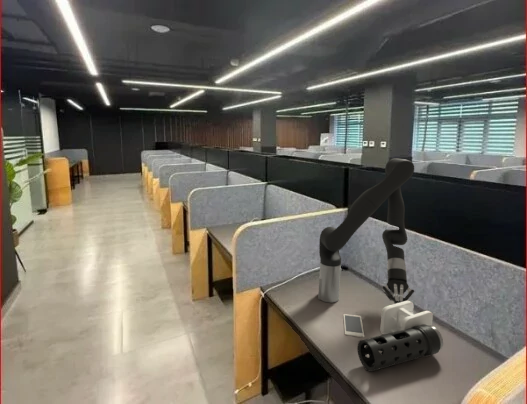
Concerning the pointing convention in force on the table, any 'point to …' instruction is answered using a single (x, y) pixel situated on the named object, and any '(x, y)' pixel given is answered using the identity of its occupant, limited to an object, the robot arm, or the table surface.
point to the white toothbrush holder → (402, 317)
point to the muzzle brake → (399, 346)
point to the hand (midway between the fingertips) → (399, 311)
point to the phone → (353, 325)
